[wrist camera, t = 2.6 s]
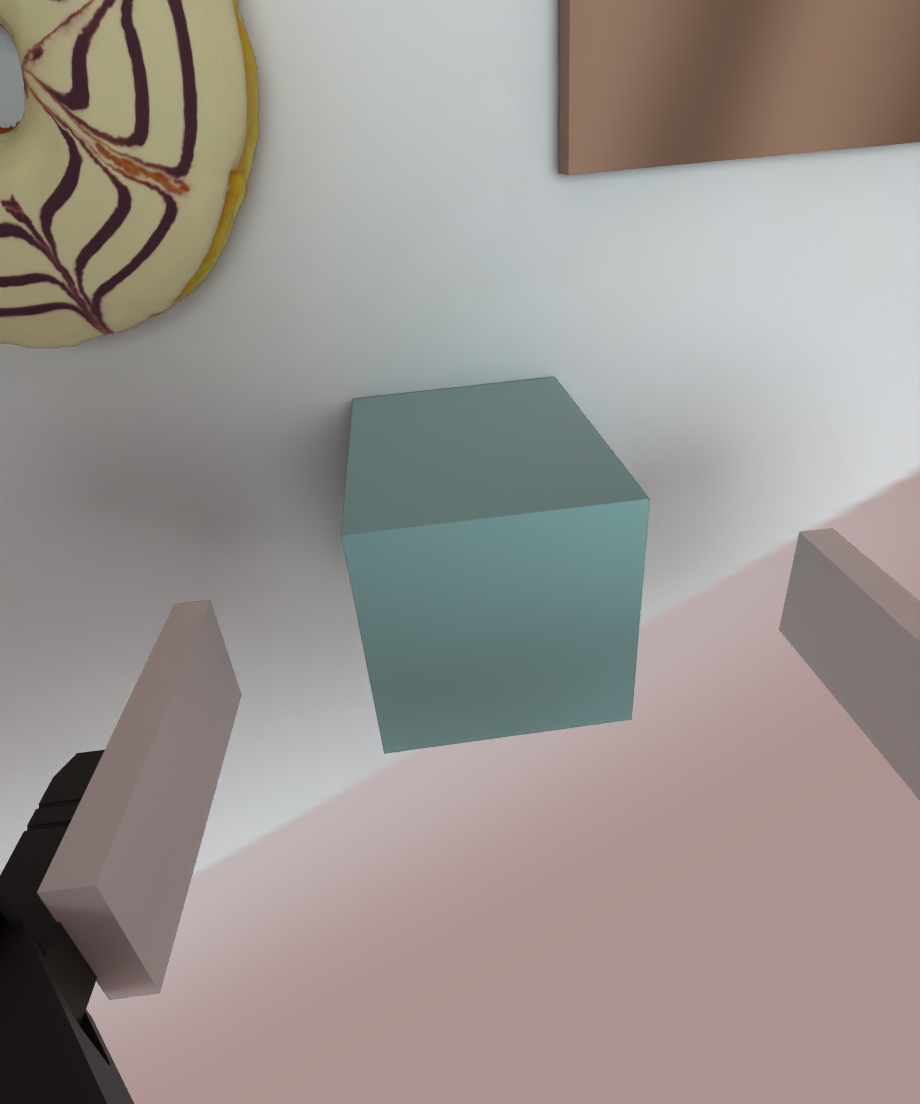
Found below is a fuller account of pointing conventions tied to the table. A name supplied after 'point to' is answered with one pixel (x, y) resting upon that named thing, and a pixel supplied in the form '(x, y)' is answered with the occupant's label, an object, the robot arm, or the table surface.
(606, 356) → the table surface
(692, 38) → the board
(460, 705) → the teal rectangular block
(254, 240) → the table surface
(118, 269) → the decorated donut
